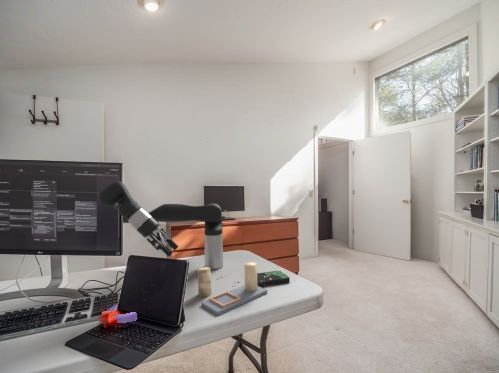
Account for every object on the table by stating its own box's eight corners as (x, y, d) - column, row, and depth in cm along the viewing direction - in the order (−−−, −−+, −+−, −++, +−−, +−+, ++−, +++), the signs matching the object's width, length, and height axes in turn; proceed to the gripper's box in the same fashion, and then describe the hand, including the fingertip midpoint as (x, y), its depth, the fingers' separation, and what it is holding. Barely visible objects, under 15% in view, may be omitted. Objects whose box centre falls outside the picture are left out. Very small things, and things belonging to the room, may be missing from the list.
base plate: (201, 305, 92) (200, 274, 92) (250, 285, 108) (249, 259, 108) (217, 315, 85) (216, 282, 84) (267, 292, 101) (266, 264, 101)
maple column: (196, 294, 101) (195, 269, 101) (206, 290, 105) (206, 266, 105) (202, 298, 98) (202, 272, 97) (213, 294, 101) (213, 269, 101)
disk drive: (258, 289, 106) (290, 283, 111) (258, 282, 106) (290, 277, 111) (250, 280, 116) (279, 275, 121) (250, 274, 116) (279, 269, 121)
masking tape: (106, 333, 77) (105, 320, 77) (108, 315, 87) (108, 304, 87) (147, 323, 82) (147, 311, 82) (145, 307, 92) (145, 296, 92)
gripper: (144, 226, 107) (172, 253, 107) (129, 233, 93) (161, 264, 93) (156, 213, 107) (184, 240, 108) (143, 218, 93) (176, 249, 93)
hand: (174, 251), depth 100 cm, fingers open, 8 cm apart
